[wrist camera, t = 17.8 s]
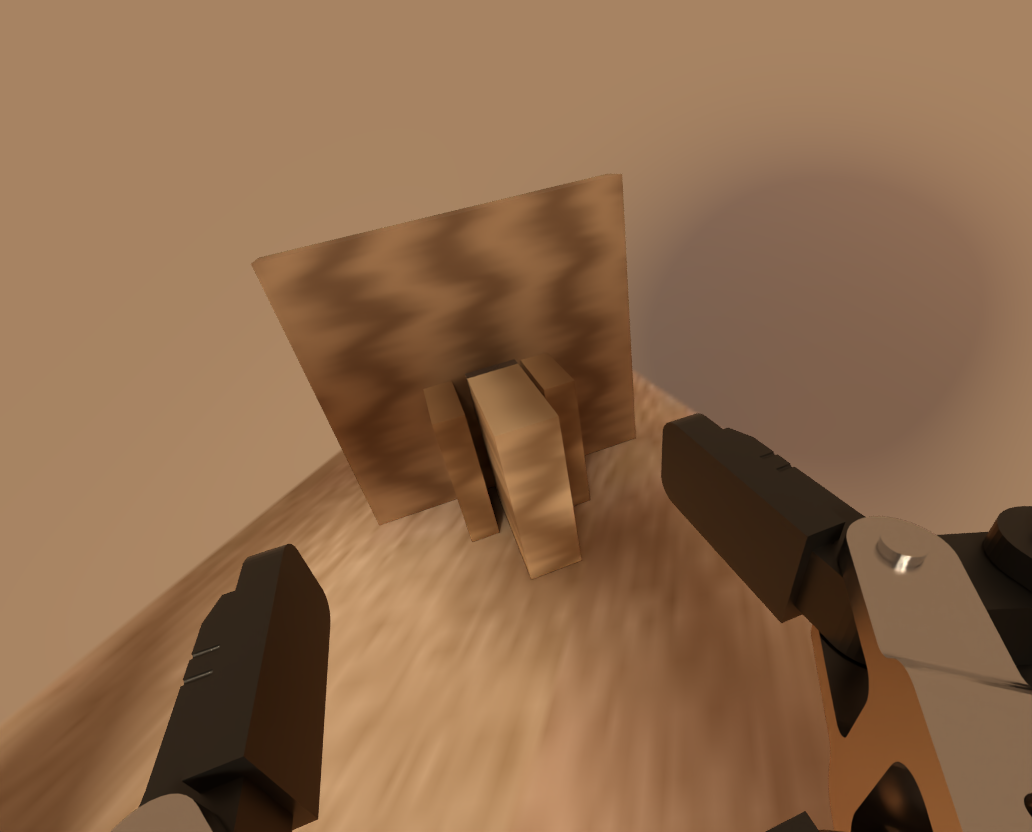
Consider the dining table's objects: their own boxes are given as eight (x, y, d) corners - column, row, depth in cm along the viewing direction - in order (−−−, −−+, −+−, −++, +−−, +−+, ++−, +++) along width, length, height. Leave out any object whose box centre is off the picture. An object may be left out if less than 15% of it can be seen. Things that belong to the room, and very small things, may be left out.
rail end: (531, 579, 27) (494, 436, 22) (499, 499, 34) (464, 373, 28) (581, 560, 28) (558, 415, 22) (540, 485, 35) (514, 358, 29)
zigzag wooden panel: (380, 574, 30) (225, 283, 20) (378, 508, 36) (258, 257, 25) (669, 471, 33) (668, 174, 23) (624, 426, 39) (607, 173, 29)
